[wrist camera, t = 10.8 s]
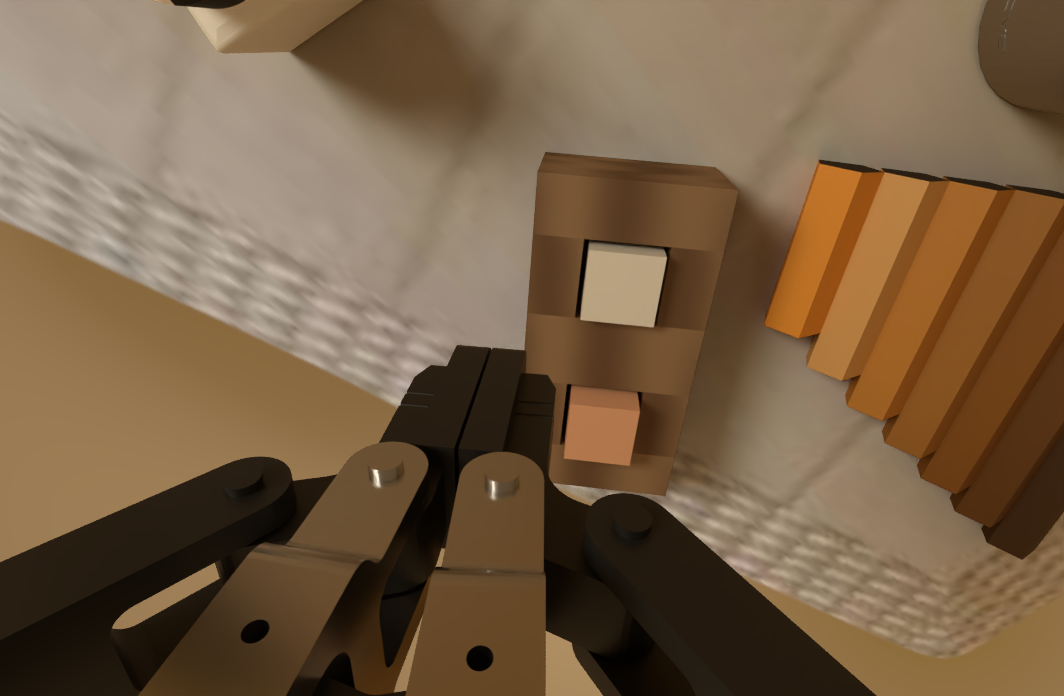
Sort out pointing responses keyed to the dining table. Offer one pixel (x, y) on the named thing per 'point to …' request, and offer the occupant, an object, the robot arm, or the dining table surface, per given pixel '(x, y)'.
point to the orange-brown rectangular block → (601, 424)
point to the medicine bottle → (262, 22)
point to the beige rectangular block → (621, 282)
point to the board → (616, 349)
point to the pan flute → (942, 330)
